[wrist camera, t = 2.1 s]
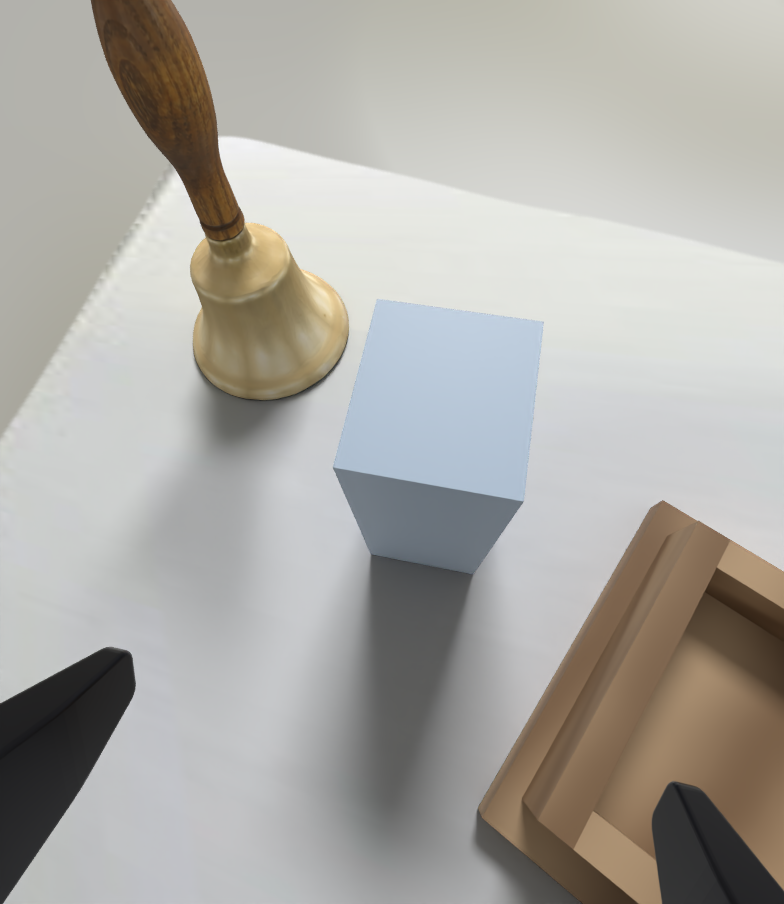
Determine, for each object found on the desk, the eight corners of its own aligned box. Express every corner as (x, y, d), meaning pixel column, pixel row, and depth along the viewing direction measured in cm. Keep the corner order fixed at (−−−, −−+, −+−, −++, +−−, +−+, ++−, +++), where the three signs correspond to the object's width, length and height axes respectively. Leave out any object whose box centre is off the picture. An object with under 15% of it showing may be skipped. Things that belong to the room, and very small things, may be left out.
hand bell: (183, 293, 28) (-72, -109, 13) (327, 255, 29) (234, -171, 14) (207, 421, 25) (-93, 83, 10) (367, 375, 26) (302, -8, 11)
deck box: (369, 554, 22) (331, 467, 12) (392, 450, 24) (375, 298, 14) (474, 574, 22) (525, 501, 11) (489, 467, 23) (545, 322, 13)
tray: (477, 808, 18) (491, 842, 15) (650, 508, 22) (693, 481, 19) (809, 1090, 15) (922, 1213, 12) (943, 685, 19) (1057, 692, 16)
